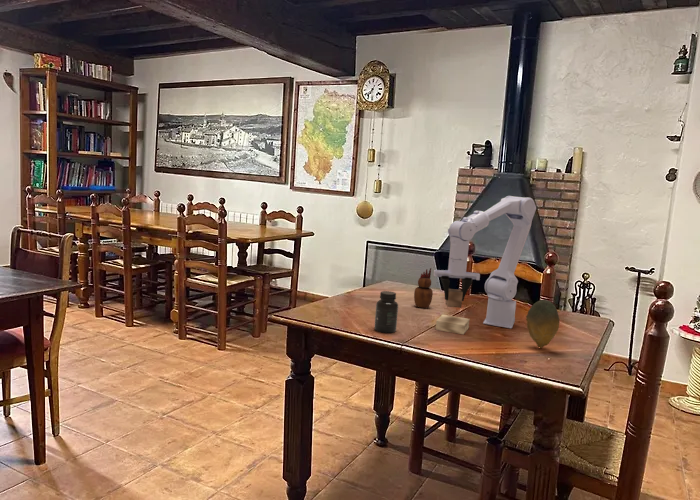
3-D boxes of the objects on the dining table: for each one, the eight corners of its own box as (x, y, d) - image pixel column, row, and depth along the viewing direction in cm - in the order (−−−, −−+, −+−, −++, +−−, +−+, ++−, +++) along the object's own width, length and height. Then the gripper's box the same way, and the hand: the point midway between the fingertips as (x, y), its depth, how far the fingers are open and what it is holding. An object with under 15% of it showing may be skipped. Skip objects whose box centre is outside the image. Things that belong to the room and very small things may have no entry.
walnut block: (458, 304, 174) (460, 289, 173) (461, 307, 169) (462, 292, 169) (445, 303, 174) (446, 288, 173) (447, 306, 169) (449, 291, 169)
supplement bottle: (370, 327, 166) (373, 290, 165) (390, 326, 169) (393, 290, 167) (379, 334, 160) (382, 295, 158) (399, 333, 163) (403, 295, 161)
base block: (468, 327, 174) (469, 318, 174) (463, 334, 166) (464, 325, 165) (441, 323, 177) (442, 314, 177) (435, 329, 169) (436, 320, 169)
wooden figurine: (431, 306, 200) (435, 267, 198) (431, 309, 194) (435, 269, 192) (413, 304, 201) (417, 265, 199) (412, 307, 195) (416, 267, 193)
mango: (558, 351, 156) (565, 301, 154) (550, 355, 152) (557, 304, 149) (527, 342, 162) (533, 294, 160) (518, 346, 158) (524, 297, 156)
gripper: (478, 258, 173) (473, 298, 175) (434, 255, 173) (430, 295, 175) (483, 261, 166) (478, 303, 168) (436, 258, 166) (432, 300, 168)
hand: (454, 299), depth 171 cm, fingers closed on walnut block, 4 cm apart
